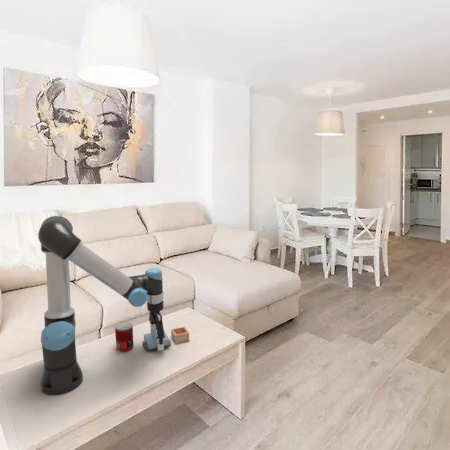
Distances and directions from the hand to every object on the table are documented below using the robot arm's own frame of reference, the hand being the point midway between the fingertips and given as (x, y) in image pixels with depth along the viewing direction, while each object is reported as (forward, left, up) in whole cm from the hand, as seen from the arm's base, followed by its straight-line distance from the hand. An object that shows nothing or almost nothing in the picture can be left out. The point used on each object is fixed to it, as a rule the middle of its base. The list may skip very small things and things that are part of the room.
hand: (157, 343), depth 166 cm
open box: (+12, +1, -1) cm, 12 cm away
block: (0, 0, -1) cm, 1 cm away
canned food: (-14, +5, -2) cm, 15 cm away
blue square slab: (0, 0, +1) cm, 1 cm away
